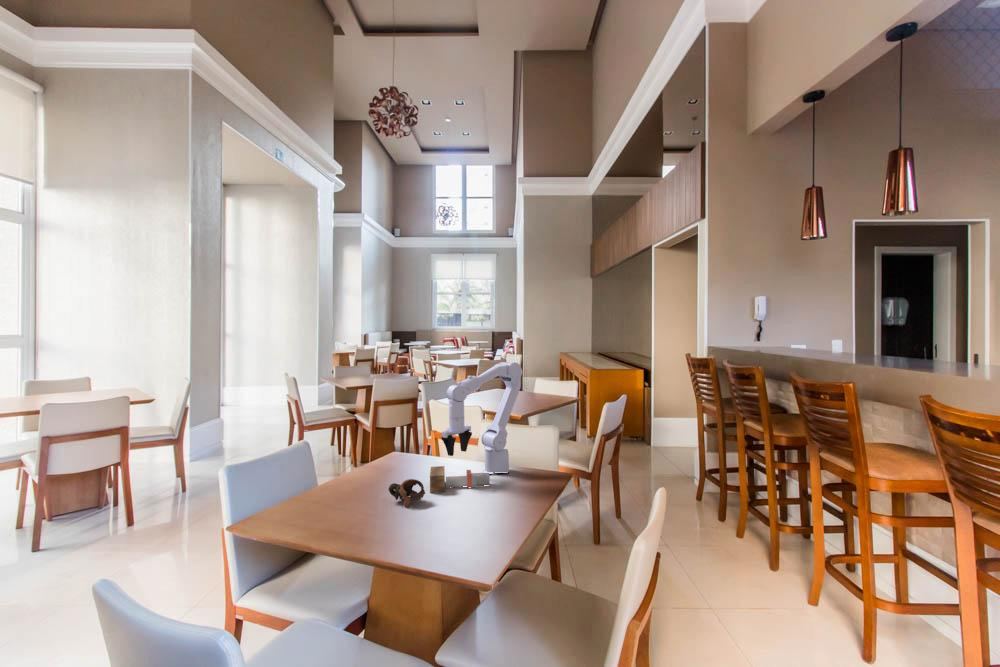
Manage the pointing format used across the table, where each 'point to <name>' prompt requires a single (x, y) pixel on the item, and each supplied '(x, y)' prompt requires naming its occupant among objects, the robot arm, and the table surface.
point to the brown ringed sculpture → (407, 491)
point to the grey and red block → (468, 480)
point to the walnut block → (437, 479)
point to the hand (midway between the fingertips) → (457, 453)
